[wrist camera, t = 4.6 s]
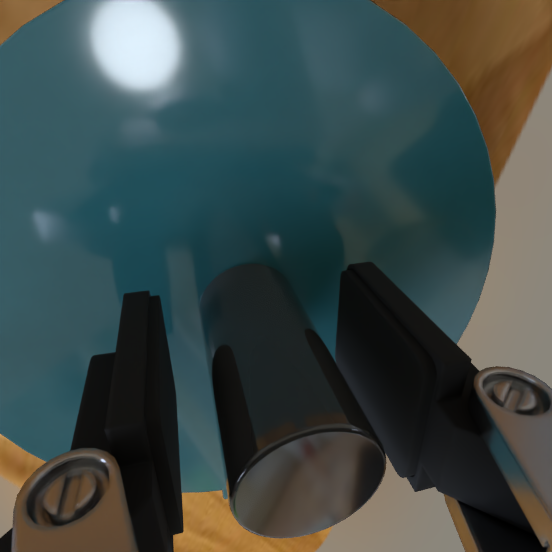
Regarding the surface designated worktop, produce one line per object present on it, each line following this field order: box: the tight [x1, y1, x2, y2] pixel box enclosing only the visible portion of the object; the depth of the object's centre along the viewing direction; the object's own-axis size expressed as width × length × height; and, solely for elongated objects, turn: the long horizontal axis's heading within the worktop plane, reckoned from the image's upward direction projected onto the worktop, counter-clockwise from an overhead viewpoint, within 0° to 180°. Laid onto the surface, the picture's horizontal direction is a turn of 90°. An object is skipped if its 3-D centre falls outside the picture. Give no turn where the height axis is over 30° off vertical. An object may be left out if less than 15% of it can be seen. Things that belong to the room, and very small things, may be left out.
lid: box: [0, 0, 496, 538], centre depth 9 cm, size 15×15×7 cm
